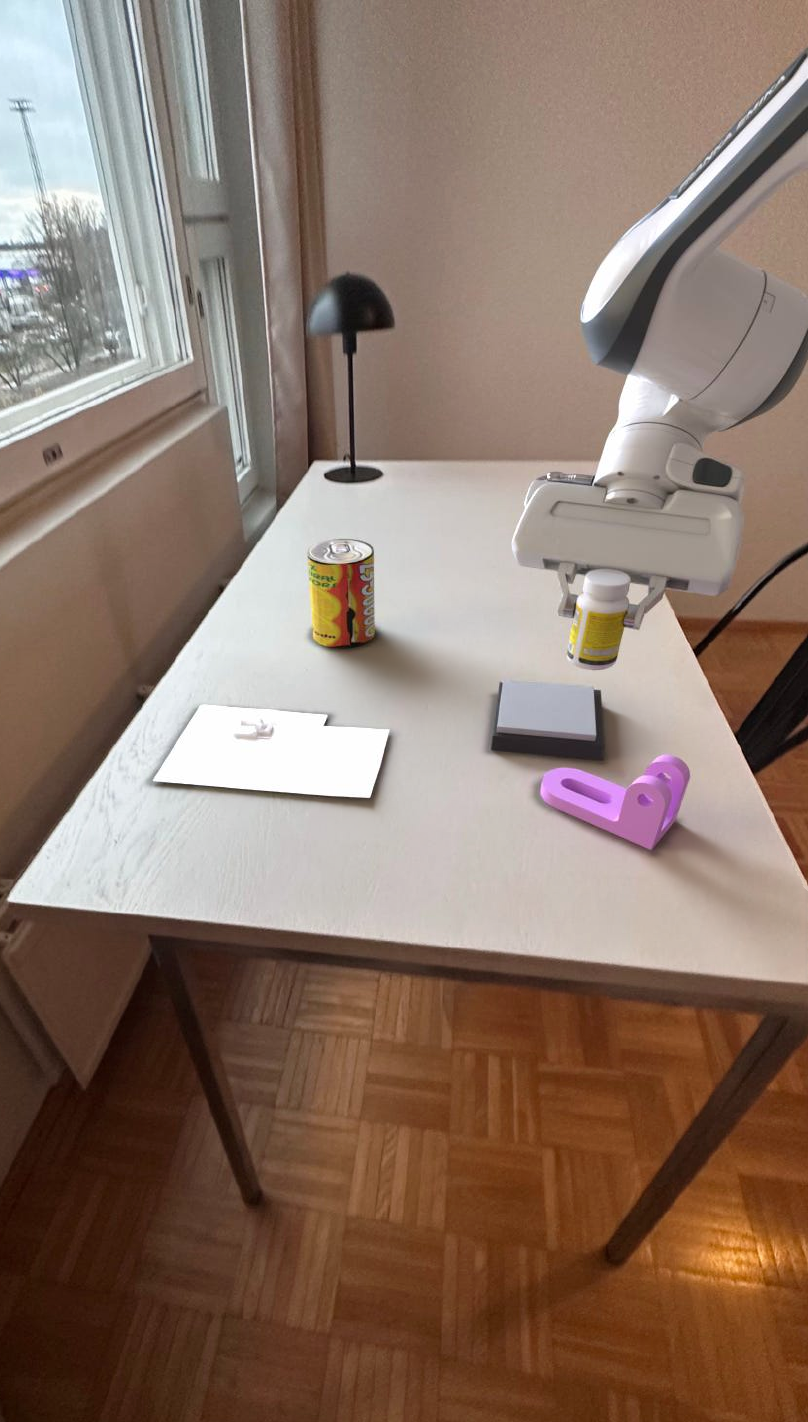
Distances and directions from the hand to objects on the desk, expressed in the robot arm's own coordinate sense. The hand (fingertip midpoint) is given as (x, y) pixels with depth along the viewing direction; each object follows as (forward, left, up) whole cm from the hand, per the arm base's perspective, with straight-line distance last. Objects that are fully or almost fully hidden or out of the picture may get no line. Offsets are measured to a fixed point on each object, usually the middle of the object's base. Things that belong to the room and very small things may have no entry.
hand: (598, 620), depth 69 cm
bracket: (-3, +7, -17) cm, 19 cm away
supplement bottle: (0, -1, -5) cm, 5 cm away
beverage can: (+32, -27, -17) cm, 45 cm away
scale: (+3, -7, -17) cm, 18 cm away
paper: (+33, +3, -17) cm, 37 cm away
